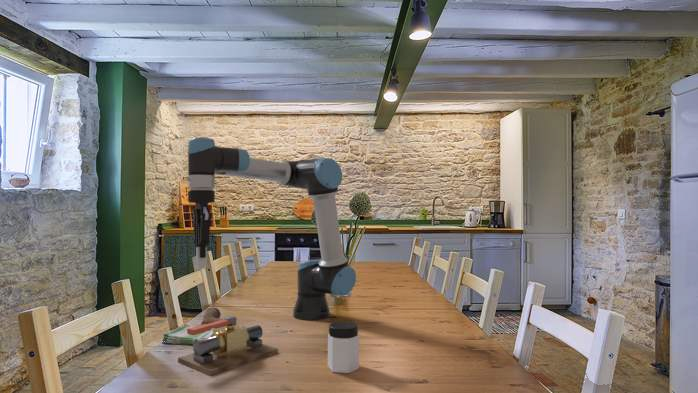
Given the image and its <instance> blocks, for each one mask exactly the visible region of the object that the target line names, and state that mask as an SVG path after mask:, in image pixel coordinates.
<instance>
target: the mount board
mask: <svg viewBox="0 0 698 393" xmlns="http://www.w3.org/2000/svg"><path fill="white" fill-rule="evenodd" d="M278 351H279V350H278V348H277V347H274V346H270V345H267V344H264V343H262V346H261V347H258V348H252V347H249V346H247V352H246V353H243V354H240V355H237V356H234V357H231V358H228V359H226V358H224V357H221V356H218V355H215V354H213V352H210V354H213V362H210V363H207V364H204V365H203V364H201V363H198V362H196V361H194V352H193V353H190V354H187V355H183V356H180V357H177V362H178V363H180V364H182V365H185V366H187V367H189V368H192V369H194V370H197V371H199V372H201V373H203V374H206V375H209V376H213V375H216V374H219V373H222V372H225V371H227V370H231V369H233V368H236V367H240V366H242V365H243V366H244V365H245V364H247V363H250V362H254V361H257V360H260V359H264V358H265V357H268V356H272V355H274V354H278Z"/></svg>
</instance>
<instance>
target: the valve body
mask: <svg viewBox="0 0 698 393" xmlns="http://www.w3.org/2000/svg"><path fill="white" fill-rule="evenodd" d="M263 334H264V332H263V329H262V327H261V326H260V325H259V324H257V325H253V326H249V327H246V326H244V325H237V324H236V325H235V324H232V325H226V326H224V327H220V328H216V329H213V334H212V335H211V337H210V338H207V339H203V340H200V341H196V342H195V343H194V345H192V350H193V353H194V361H196V362H198V363H201V364H203V365H204V364H207V363H210V362H213V354H215V355H218V356H221V357H224V358H226V359H228V358H231V357H234V356H237V355H240V354H243V353H246V352H247V346H249V347H252V348H258V347H261V346H262V344H263V339H262V336H263ZM210 352H213V354H210Z"/></svg>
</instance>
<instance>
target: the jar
mask: <svg viewBox="0 0 698 393" xmlns="http://www.w3.org/2000/svg"><path fill="white" fill-rule="evenodd" d="M327 367H328V369H329V370H330V371H331V372H332V373H339V374H351V373H353V372H355V371H358V370H359V369H360V335H359V325H358V323H355V322H351V321H335V322H334V321H333V322H331V323H330V324H329V325H328V333H327Z"/></svg>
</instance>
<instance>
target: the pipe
mask: <svg viewBox="0 0 698 393" xmlns="http://www.w3.org/2000/svg"><path fill="white" fill-rule="evenodd" d="M223 319H224V318H221V311H220V309H219V308H217V307H216V306H215V307H214V306H212V307H209V308H207V309H206V310H205V313H204V315H203V318H202V321H201V323H200V325H203V324H209V323H213V322H216V321H220V320H223ZM235 325H236V326H237V323H236V324H235ZM224 326H226V325H223V326H220V327H224ZM220 327H217V328H220Z"/></svg>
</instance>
